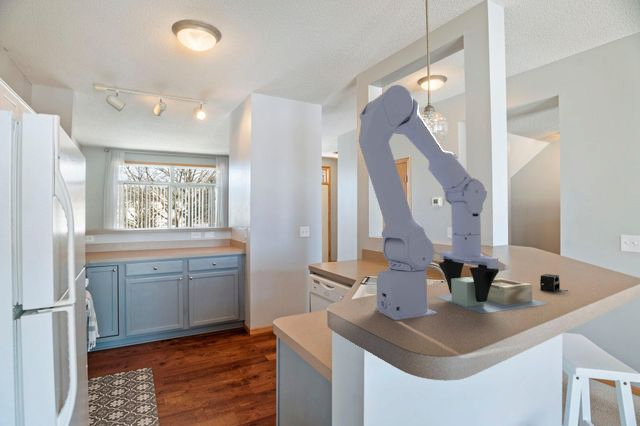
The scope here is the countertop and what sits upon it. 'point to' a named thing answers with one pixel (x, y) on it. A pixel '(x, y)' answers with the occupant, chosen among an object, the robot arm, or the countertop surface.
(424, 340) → the countertop surface
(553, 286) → the black box
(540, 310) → the countertop surface
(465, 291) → the green brick
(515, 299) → the base brick
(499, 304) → the mat
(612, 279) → the countertop surface
